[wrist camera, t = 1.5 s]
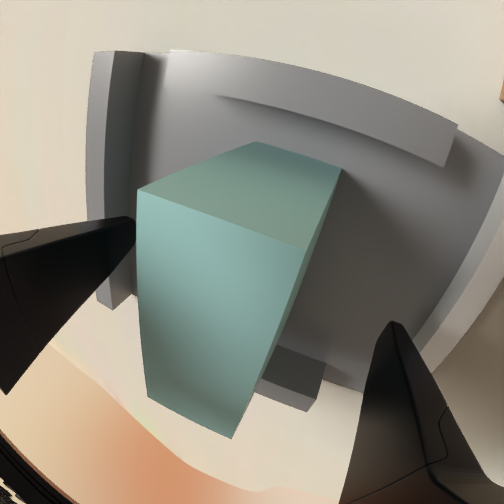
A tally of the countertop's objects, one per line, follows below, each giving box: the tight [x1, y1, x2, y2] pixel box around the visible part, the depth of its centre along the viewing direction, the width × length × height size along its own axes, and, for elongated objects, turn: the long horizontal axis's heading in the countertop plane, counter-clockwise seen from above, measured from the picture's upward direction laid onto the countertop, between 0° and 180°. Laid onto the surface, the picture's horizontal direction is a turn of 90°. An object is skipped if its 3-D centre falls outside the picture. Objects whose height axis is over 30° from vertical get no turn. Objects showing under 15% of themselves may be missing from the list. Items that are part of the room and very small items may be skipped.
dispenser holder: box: [86, 50, 504, 412], centre depth 11 cm, size 16×12×2 cm
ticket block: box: [136, 141, 342, 439], centre depth 9 cm, size 3×7×6 cm, turn 167°
